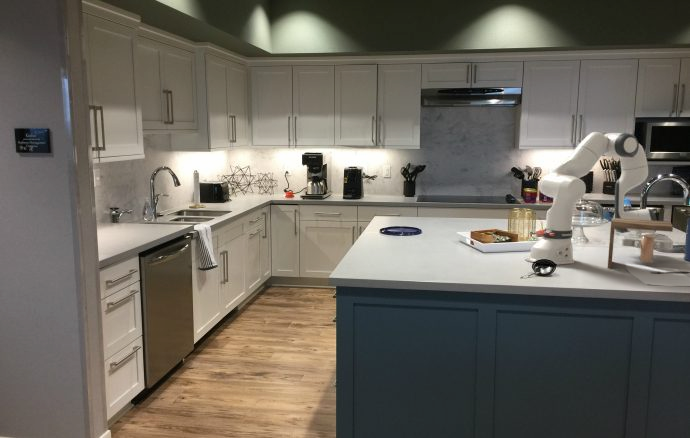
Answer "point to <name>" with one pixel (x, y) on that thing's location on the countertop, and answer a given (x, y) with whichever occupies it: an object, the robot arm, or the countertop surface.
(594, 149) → the robot arm
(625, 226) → the shelf
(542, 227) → the cupcake
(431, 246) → the countertop surface
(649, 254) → the jar
